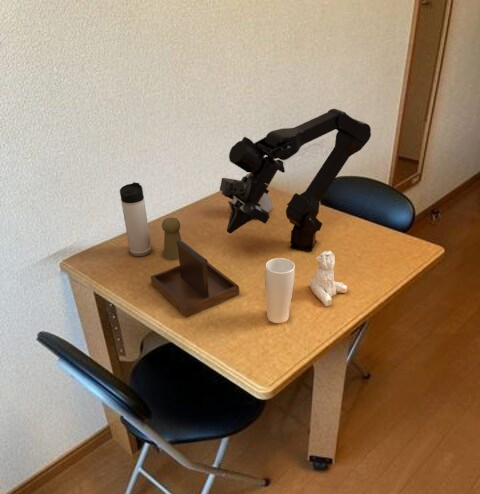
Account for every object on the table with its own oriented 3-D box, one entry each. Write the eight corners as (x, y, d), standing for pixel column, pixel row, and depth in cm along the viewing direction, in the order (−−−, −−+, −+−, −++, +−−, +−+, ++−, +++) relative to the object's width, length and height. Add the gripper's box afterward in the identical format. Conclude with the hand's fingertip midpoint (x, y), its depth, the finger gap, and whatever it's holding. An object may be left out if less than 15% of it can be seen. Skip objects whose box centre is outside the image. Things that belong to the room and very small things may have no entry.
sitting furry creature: (327, 308, 124) (332, 267, 116) (299, 294, 128) (302, 254, 121) (348, 291, 129) (354, 251, 122) (321, 279, 134) (325, 240, 126)
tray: (201, 265, 140) (199, 226, 133) (239, 294, 129) (238, 253, 121) (151, 284, 133) (145, 244, 125) (186, 317, 121) (182, 275, 114)
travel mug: (155, 247, 149) (146, 183, 136) (145, 258, 144) (135, 193, 131) (137, 244, 150) (126, 180, 138) (126, 254, 145) (114, 190, 133)
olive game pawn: (181, 260, 143) (177, 225, 136) (161, 258, 144) (156, 223, 137) (187, 249, 147) (184, 215, 140) (167, 247, 148) (163, 214, 141)
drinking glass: (262, 310, 123) (263, 258, 114) (289, 308, 124) (292, 256, 114) (265, 327, 118) (267, 274, 109) (294, 325, 118) (297, 272, 109)
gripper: (221, 156, 130) (192, 208, 134) (249, 173, 115) (216, 232, 119) (253, 176, 136) (225, 225, 140) (284, 195, 121) (251, 250, 125)
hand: (228, 232), depth 131 cm, fingers closed
